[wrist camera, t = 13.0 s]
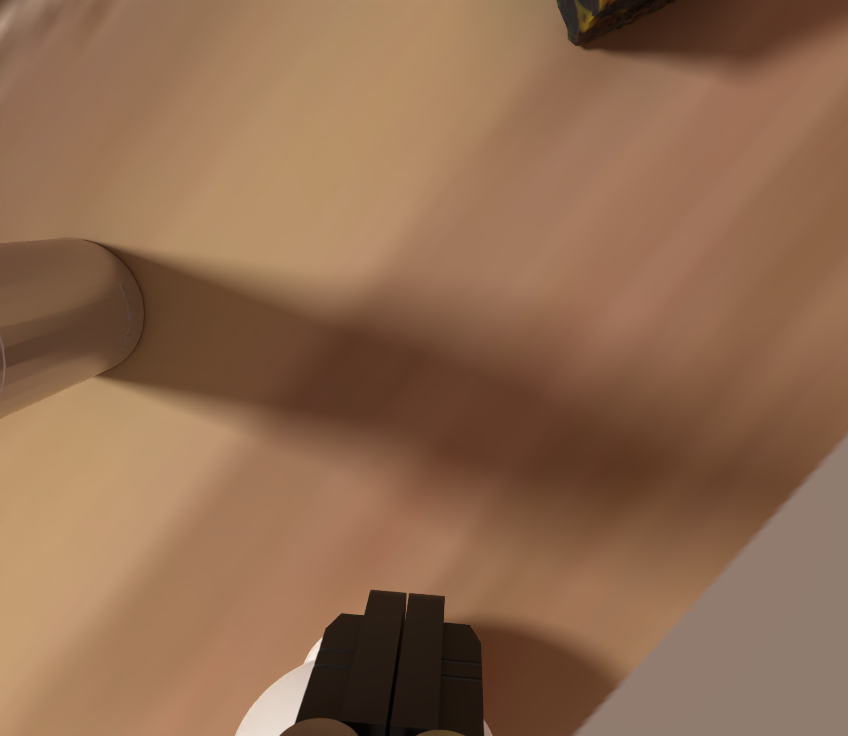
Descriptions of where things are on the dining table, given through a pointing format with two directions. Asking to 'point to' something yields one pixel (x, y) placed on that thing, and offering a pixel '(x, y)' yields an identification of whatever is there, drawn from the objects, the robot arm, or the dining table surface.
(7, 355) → the robot arm
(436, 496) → the dining table surface
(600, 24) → the candle
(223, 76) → the dining table surface
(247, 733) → the decorative vase
